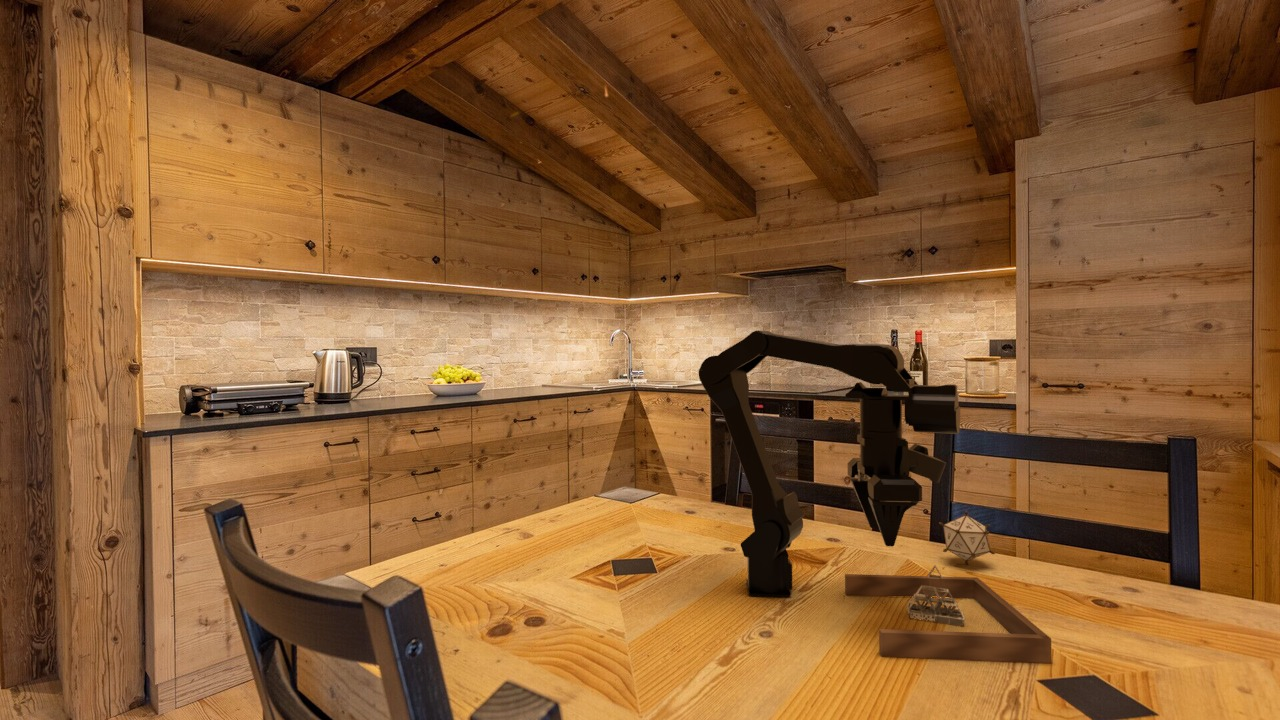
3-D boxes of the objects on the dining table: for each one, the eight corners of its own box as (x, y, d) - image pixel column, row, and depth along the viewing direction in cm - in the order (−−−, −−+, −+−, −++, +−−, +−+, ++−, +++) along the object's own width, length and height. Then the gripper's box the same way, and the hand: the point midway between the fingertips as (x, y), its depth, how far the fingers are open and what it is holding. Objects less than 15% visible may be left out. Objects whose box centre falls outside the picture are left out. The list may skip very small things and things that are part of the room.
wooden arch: (881, 656, 79) (881, 632, 79) (845, 592, 100) (844, 574, 99) (1051, 663, 76) (1051, 638, 76) (977, 596, 97) (977, 577, 97)
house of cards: (972, 607, 94) (972, 556, 94) (978, 631, 86) (978, 576, 86) (907, 598, 98) (907, 549, 98) (907, 621, 90) (907, 567, 90)
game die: (1001, 576, 106) (1001, 517, 106) (947, 573, 108) (947, 515, 108) (984, 559, 115) (983, 504, 115) (934, 556, 117) (933, 503, 116)
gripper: (963, 439, 81) (964, 559, 82) (918, 423, 100) (919, 521, 100) (874, 438, 83) (874, 556, 83) (846, 423, 101) (847, 519, 102)
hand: (881, 536), depth 92 cm, fingers open, 9 cm apart
